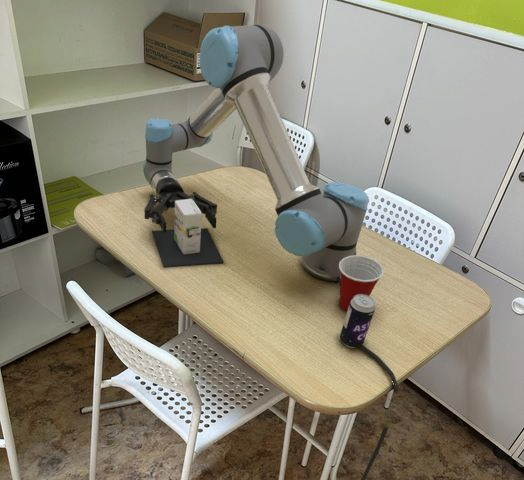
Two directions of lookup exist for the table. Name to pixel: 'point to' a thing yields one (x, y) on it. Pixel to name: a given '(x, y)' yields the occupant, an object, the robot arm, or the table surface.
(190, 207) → the ink box
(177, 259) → the mat
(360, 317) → the beverage can
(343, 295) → the plastic cup
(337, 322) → the table surface
